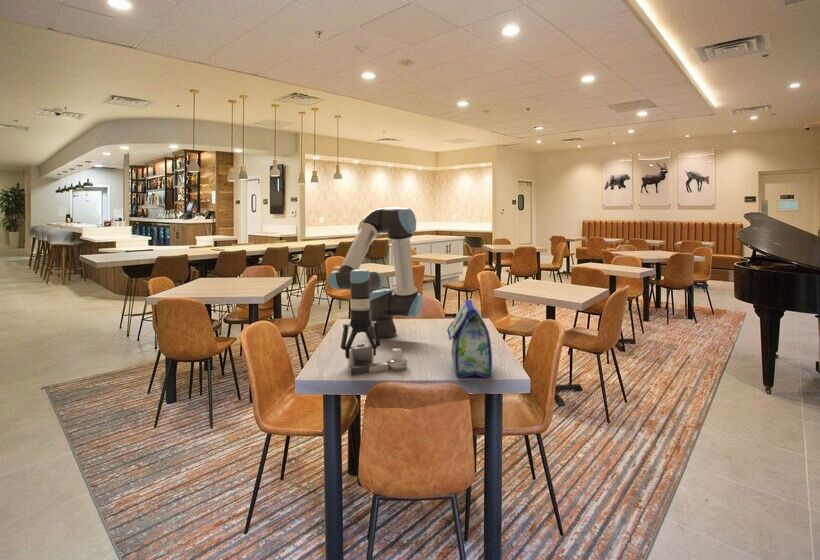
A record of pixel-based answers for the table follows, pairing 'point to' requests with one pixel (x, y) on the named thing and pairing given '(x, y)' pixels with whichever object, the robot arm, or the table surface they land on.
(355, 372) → the chrome ball-end bar
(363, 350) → the grey square block
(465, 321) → the lunch bag
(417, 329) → the table surface
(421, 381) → the table surface
